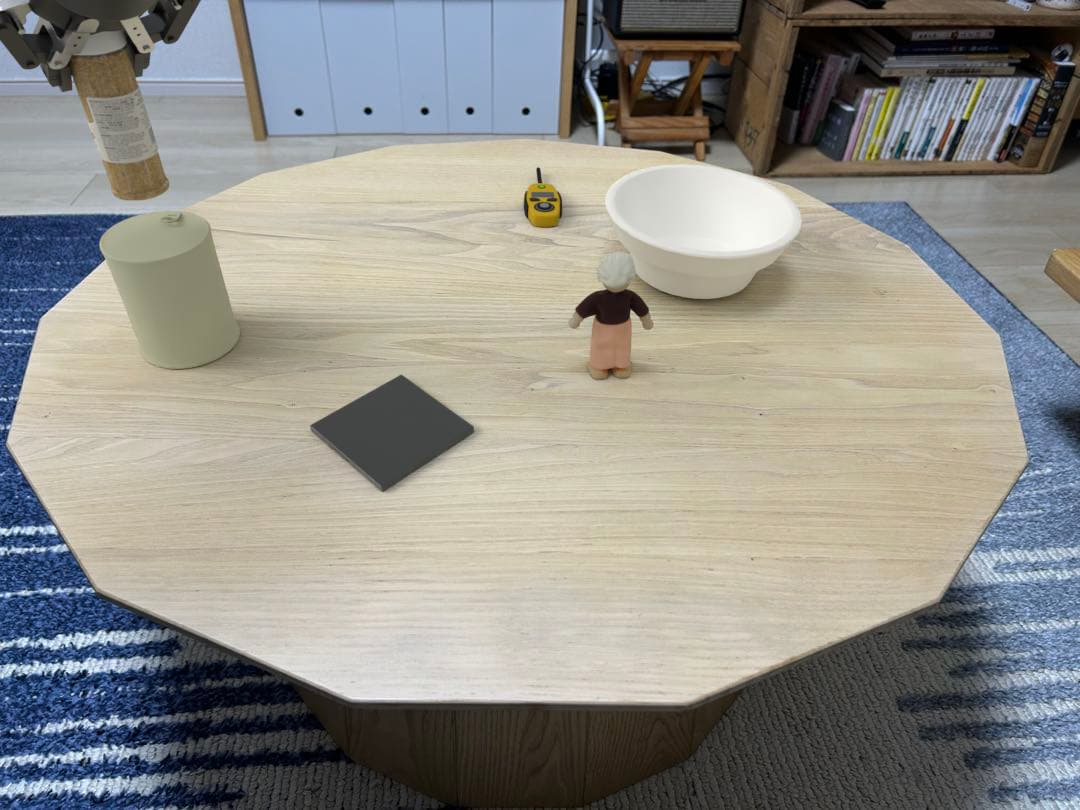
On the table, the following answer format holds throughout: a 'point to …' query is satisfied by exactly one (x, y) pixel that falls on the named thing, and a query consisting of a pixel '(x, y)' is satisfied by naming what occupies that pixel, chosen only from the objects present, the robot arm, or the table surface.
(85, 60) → the sprinkles bottle
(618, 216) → the bowl
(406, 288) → the table surface
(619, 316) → the grandmother figurine
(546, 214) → the yellow walkie talkie
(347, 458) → the slate coaster
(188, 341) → the can
